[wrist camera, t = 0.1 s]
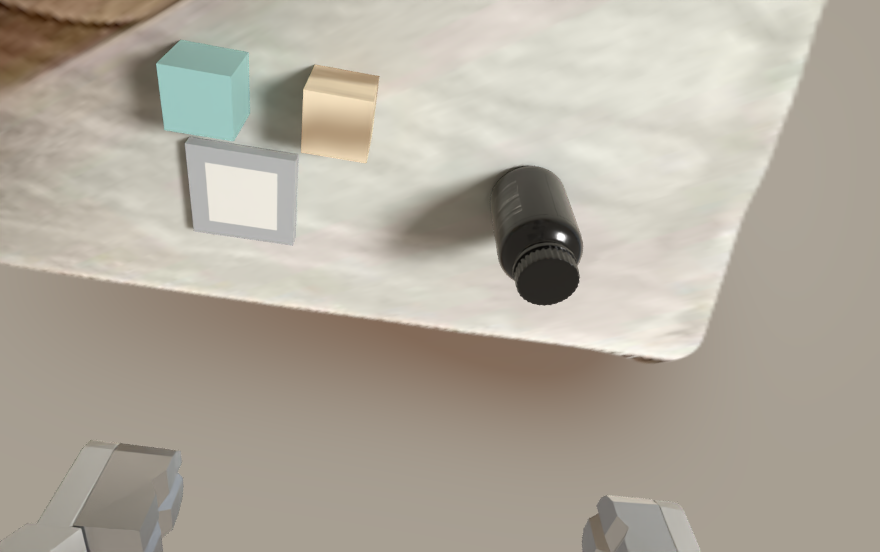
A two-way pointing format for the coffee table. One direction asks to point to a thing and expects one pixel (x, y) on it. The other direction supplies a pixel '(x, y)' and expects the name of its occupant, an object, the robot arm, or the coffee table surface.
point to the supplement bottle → (536, 234)
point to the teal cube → (204, 90)
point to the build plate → (242, 190)
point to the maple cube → (338, 113)
